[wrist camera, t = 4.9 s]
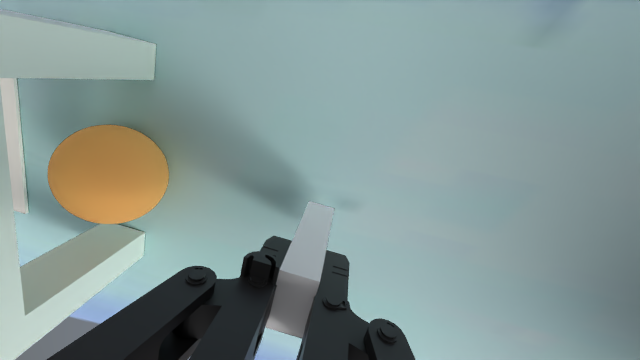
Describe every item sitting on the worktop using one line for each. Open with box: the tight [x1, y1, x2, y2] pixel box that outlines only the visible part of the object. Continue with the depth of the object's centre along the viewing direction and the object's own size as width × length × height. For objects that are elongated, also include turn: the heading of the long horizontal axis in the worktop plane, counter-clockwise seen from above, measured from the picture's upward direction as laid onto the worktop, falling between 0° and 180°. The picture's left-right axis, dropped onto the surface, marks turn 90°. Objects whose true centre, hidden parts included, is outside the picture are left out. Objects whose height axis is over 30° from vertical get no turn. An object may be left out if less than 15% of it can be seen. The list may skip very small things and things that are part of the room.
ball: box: [48, 125, 169, 224], centre depth 17 cm, size 6×6×6 cm
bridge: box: [0, 9, 156, 360], centre depth 15 cm, size 3×14×9 cm, turn 166°
